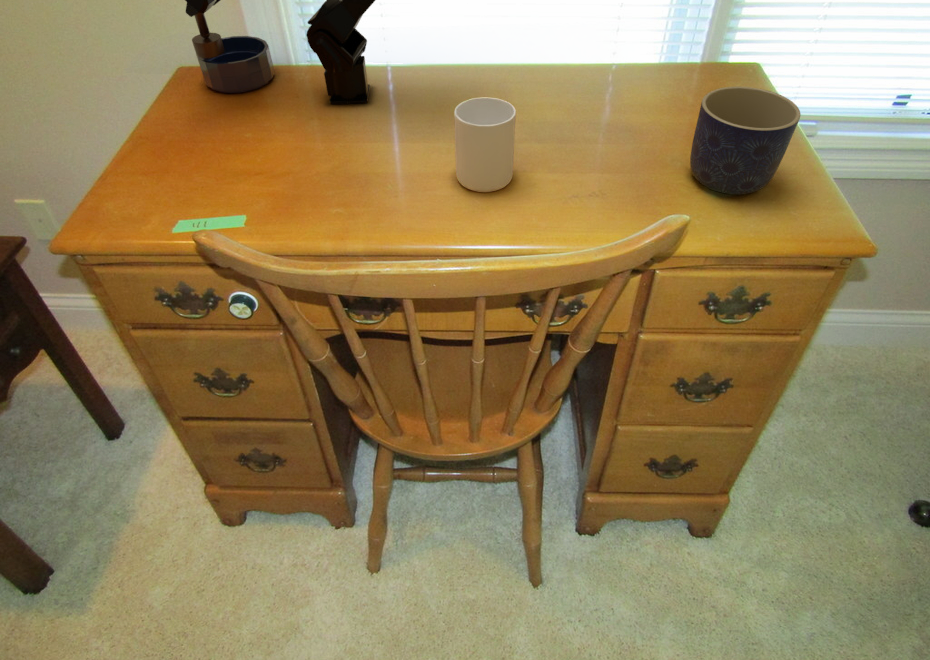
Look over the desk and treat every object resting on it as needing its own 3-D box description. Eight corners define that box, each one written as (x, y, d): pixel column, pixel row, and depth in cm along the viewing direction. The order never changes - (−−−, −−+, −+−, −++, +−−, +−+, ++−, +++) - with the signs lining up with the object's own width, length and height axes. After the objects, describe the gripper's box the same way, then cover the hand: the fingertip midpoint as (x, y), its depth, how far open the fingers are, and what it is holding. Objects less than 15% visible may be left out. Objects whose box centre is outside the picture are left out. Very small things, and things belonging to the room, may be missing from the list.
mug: (453, 151, 97) (451, 86, 90) (506, 149, 98) (508, 83, 90) (457, 195, 89) (456, 127, 82) (516, 192, 89) (519, 124, 82)
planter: (695, 203, 87) (717, 130, 79) (674, 157, 95) (691, 86, 88) (785, 202, 87) (816, 128, 79) (756, 155, 95) (781, 85, 88)
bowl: (280, 64, 121) (273, 34, 117) (268, 93, 112) (260, 62, 108) (215, 66, 121) (206, 36, 117) (198, 95, 112) (187, 64, 108)
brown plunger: (229, 52, 109) (205, -36, 100) (204, 60, 107) (176, -29, 98) (217, 45, 112) (191, -42, 102) (191, 52, 110) (163, -35, 100)
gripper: (215, -121, 99) (174, -44, 108) (155, -92, 86) (115, -7, 95) (274, -63, 104) (230, 7, 113) (226, -27, 91) (181, 48, 100)
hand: (191, 12), depth 105 cm, fingers closed on brown plunger
